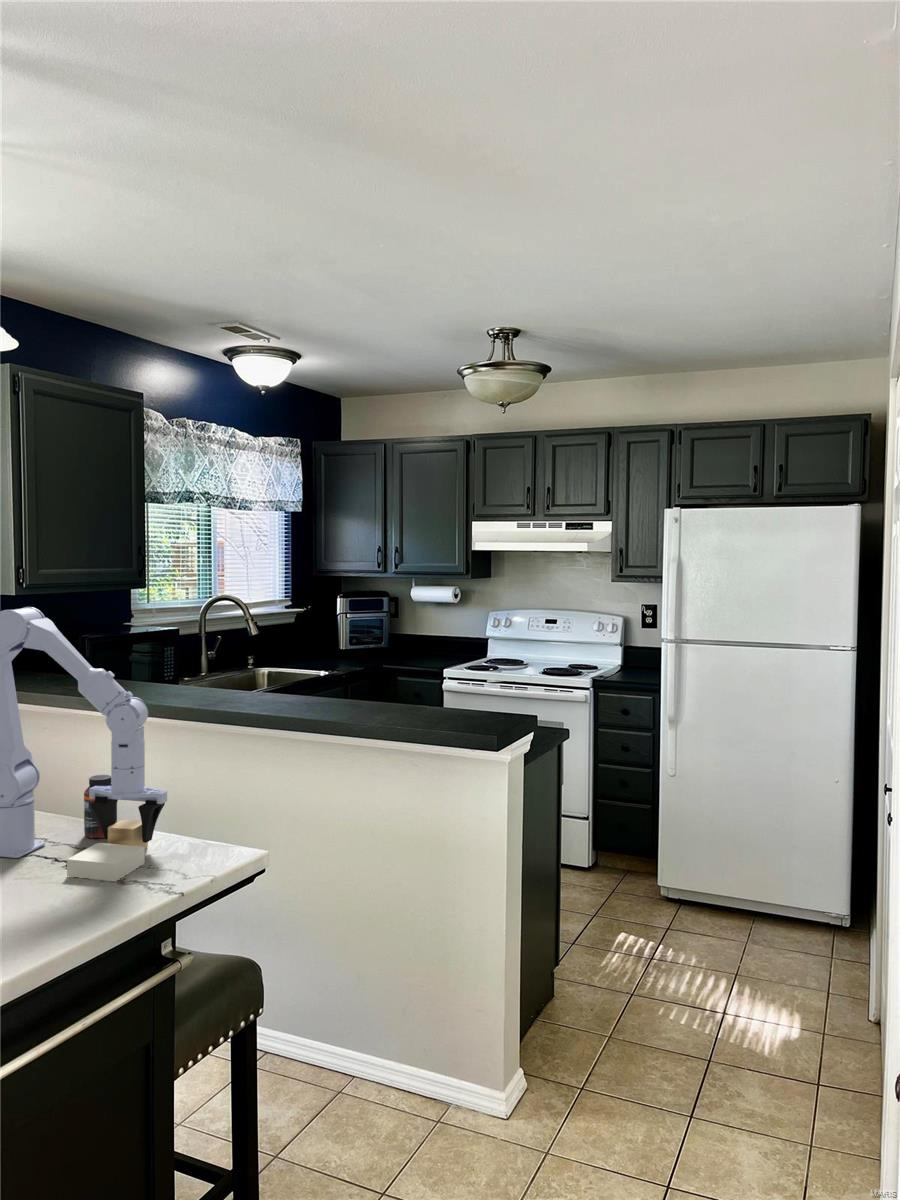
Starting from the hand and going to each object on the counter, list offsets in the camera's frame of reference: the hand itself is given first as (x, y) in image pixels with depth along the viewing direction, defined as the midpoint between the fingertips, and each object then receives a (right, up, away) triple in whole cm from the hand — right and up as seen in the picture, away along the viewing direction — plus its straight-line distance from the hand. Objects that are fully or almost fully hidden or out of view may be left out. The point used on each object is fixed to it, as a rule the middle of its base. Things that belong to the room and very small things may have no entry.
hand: (128, 839), depth 165 cm
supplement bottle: (-8, -2, +9) cm, 13 cm away
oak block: (0, -2, 0) cm, 2 cm away
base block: (0, -3, -10) cm, 10 cm away
